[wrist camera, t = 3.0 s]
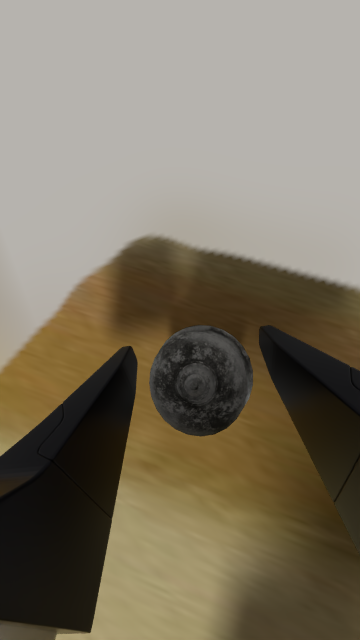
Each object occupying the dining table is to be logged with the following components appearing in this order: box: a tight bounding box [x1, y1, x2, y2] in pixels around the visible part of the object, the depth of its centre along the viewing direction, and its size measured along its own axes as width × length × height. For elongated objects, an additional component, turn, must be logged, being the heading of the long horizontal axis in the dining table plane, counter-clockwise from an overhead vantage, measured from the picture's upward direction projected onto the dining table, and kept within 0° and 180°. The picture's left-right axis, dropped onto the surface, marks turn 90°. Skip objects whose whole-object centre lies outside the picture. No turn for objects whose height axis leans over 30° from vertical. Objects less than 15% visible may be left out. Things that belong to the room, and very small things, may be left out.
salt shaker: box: [149, 325, 253, 436], centre depth 10 cm, size 6×6×12 cm
